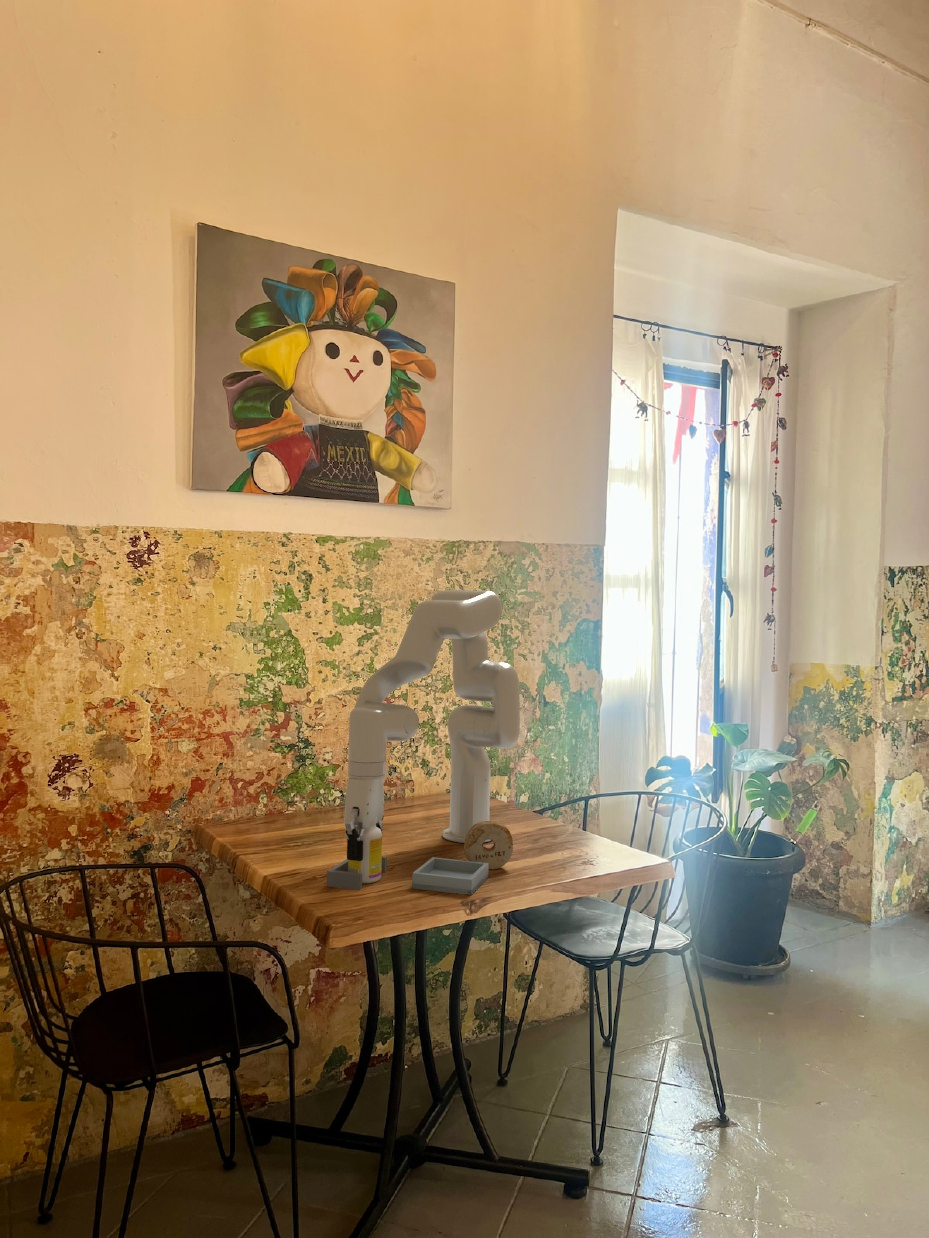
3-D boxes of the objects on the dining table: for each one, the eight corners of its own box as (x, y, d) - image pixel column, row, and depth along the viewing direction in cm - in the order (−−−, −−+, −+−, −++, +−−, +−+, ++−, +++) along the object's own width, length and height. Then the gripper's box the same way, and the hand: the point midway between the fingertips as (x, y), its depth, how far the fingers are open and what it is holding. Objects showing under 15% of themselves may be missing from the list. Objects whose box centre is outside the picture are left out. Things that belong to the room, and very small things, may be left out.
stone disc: (510, 865, 196) (512, 819, 196) (513, 870, 193) (514, 823, 193) (462, 865, 196) (463, 818, 196) (463, 870, 192) (465, 822, 192)
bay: (355, 867, 192) (356, 852, 192) (386, 870, 190) (387, 856, 190) (326, 886, 179) (327, 871, 179) (359, 890, 177) (360, 874, 177)
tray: (432, 871, 190) (432, 857, 190) (488, 877, 187) (488, 863, 187) (412, 888, 179) (412, 872, 179) (471, 895, 175) (471, 879, 175)
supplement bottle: (382, 874, 187) (383, 812, 187) (380, 884, 181) (381, 819, 181) (349, 874, 187) (350, 811, 187) (346, 884, 181) (347, 819, 180)
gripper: (366, 761, 193) (364, 842, 193) (331, 774, 177) (329, 863, 177) (399, 763, 191) (397, 845, 191) (367, 777, 174) (364, 867, 175)
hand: (364, 853), depth 184 cm, fingers open, 9 cm apart
